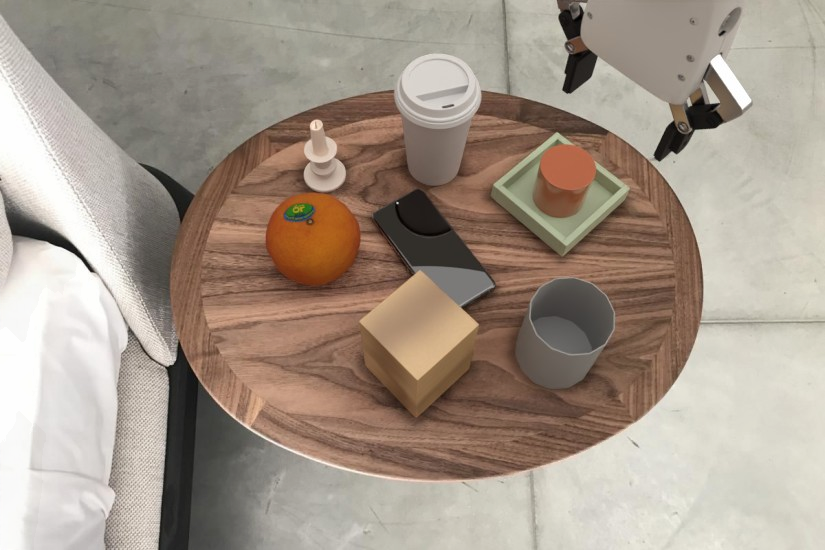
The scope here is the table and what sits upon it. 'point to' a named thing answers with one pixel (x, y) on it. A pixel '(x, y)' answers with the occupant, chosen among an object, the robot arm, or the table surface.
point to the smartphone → (433, 247)
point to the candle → (322, 161)
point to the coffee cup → (436, 115)
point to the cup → (564, 332)
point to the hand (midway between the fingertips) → (620, 116)
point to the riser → (418, 342)
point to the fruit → (313, 238)
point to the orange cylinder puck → (563, 180)
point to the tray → (553, 231)
